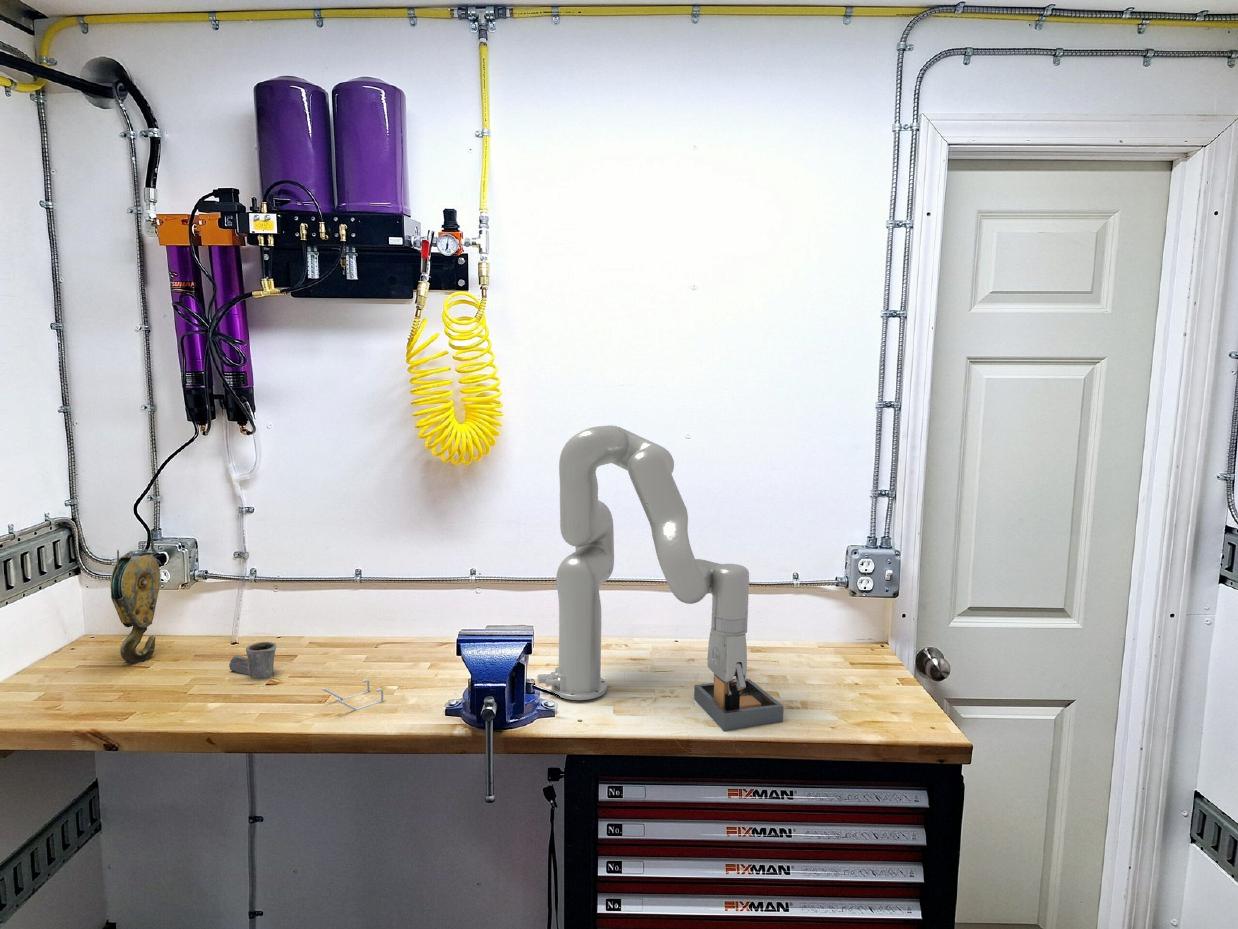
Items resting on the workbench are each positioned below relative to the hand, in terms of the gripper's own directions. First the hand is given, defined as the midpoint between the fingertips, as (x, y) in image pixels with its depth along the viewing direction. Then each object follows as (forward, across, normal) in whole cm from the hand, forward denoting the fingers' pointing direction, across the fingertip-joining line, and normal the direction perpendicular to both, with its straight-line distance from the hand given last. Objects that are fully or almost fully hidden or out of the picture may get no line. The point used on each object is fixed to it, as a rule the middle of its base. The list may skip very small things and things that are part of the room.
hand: (726, 705), depth 155 cm
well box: (+3, 0, +2) cm, 4 cm away
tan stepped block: (+1, 0, +3) cm, 3 cm away
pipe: (+3, -50, -99) cm, 111 cm away
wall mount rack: (+3, -28, -76) cm, 81 cm away
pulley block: (+3, -67, -128) cm, 144 cm away
